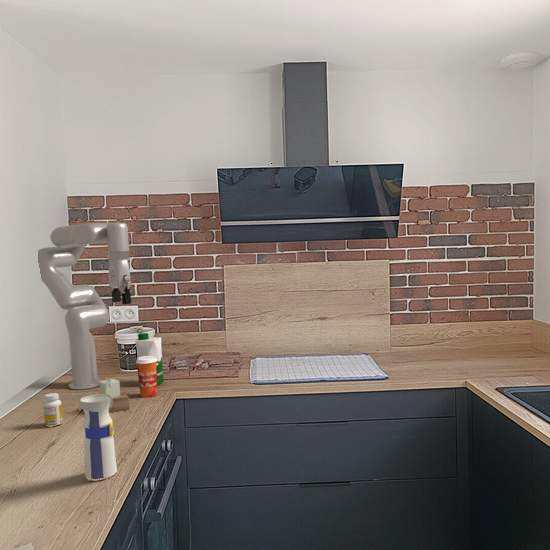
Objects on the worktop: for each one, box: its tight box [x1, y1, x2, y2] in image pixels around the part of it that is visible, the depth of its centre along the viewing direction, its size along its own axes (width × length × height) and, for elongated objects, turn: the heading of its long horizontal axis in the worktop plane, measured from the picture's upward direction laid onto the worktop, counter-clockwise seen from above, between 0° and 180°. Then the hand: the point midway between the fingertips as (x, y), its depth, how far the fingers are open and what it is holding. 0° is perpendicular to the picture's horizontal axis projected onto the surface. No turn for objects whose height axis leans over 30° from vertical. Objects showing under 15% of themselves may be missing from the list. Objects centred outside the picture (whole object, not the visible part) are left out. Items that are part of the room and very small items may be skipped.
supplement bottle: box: [43, 392, 64, 426], centre depth 195 cm, size 5×5×10 cm
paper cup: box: [135, 356, 158, 398], centre depth 225 cm, size 8×8×14 cm
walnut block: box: [109, 390, 130, 414], centre depth 210 cm, size 10×10×5 cm
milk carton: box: [134, 332, 164, 386], centre depth 242 cm, size 9×9×20 cm
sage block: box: [99, 378, 121, 397], centre depth 209 cm, size 5×5×5 cm
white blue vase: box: [78, 376, 118, 479], centre depth 152 cm, size 8×8×25 cm
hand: (121, 302), depth 227 cm, fingers open, 9 cm apart
